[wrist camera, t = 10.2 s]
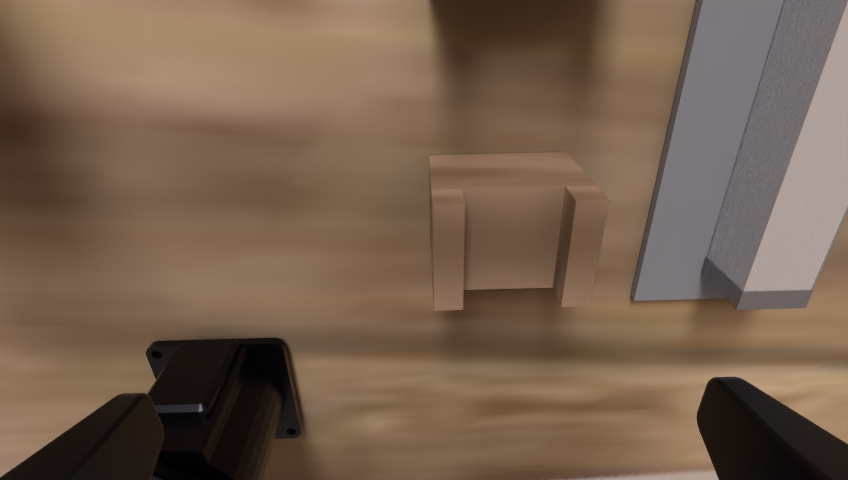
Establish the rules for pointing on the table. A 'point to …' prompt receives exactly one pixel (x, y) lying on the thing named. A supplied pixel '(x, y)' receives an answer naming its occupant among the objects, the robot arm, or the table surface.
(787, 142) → the rail
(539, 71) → the table surface
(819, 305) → the table surface
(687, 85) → the mat
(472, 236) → the post
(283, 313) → the table surface
